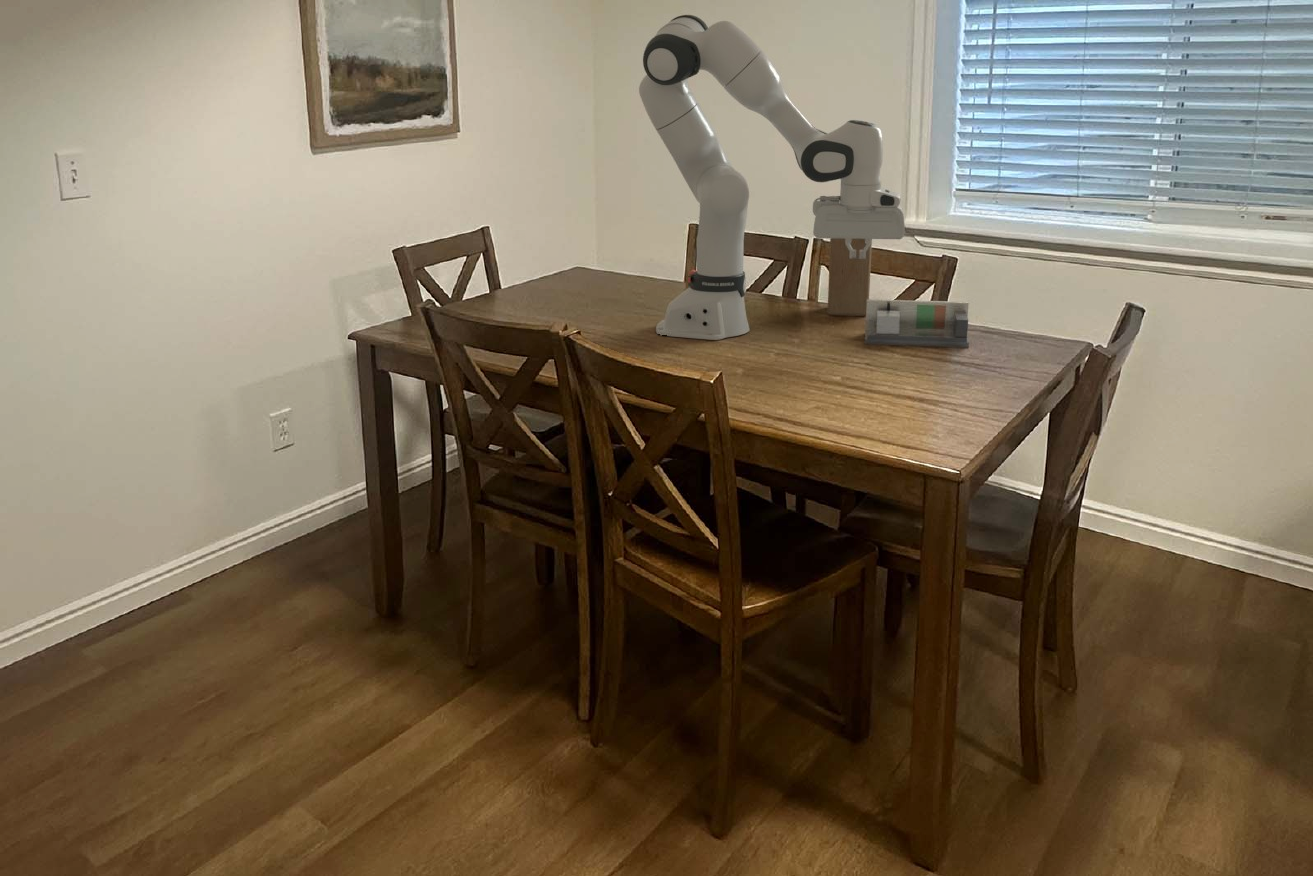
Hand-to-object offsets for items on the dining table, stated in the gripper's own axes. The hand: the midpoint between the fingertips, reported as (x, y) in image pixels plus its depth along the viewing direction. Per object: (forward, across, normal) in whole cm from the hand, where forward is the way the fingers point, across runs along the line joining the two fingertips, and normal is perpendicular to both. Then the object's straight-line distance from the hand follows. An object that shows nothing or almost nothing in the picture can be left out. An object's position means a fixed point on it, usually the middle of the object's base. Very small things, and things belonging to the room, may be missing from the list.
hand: (857, 258), depth 254 cm
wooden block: (+19, -2, +27) cm, 33 cm away
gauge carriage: (+18, +8, +1) cm, 19 cm away
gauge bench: (+19, +14, +2) cm, 24 cm away
